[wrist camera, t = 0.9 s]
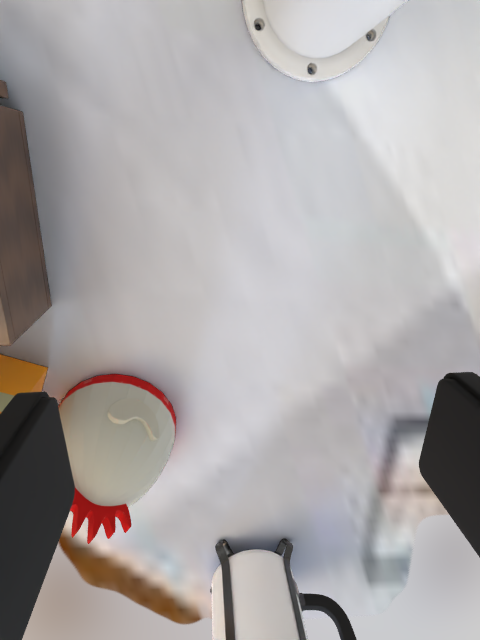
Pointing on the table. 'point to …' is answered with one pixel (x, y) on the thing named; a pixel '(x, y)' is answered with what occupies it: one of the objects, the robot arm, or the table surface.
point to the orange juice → (19, 378)
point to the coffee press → (264, 598)
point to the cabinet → (19, 234)
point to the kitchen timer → (114, 446)
